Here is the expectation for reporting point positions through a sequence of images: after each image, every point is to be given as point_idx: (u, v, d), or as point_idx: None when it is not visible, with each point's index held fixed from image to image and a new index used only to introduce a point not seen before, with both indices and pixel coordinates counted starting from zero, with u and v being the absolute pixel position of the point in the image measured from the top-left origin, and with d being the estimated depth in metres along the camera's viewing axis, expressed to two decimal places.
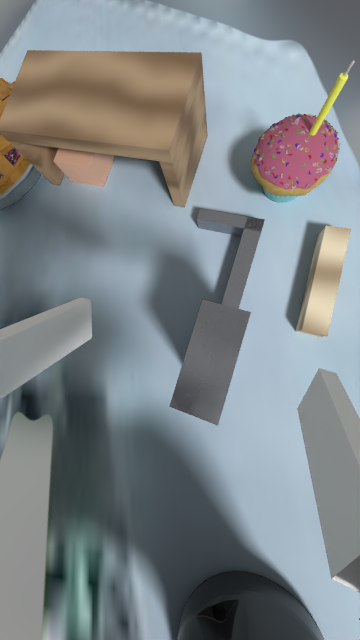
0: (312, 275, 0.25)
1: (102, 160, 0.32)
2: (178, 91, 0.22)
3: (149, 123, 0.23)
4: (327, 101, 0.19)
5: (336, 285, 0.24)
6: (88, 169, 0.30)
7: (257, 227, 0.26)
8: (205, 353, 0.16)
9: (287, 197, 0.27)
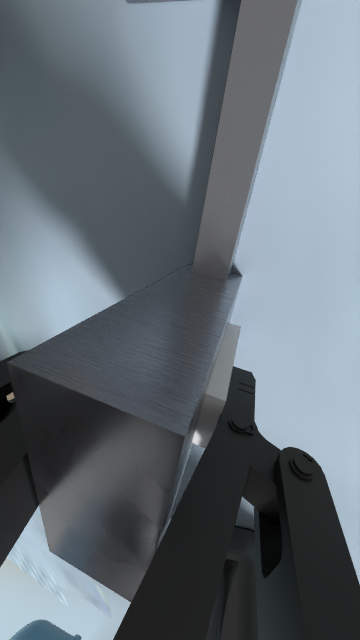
0: None
1: None
2: None
3: None
4: None
5: None
6: None
7: None
8: (77, 501, 0.05)
9: None
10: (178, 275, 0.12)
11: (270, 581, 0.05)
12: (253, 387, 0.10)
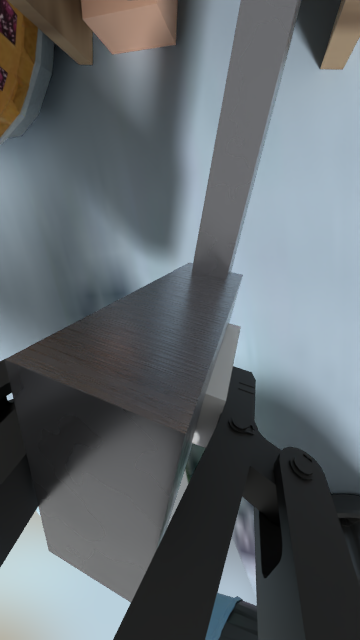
0: None
1: None
2: None
3: None
4: None
5: None
6: (153, 10, 0.15)
7: None
8: (75, 501, 0.05)
9: None
10: (178, 274, 0.11)
11: (270, 581, 0.05)
12: (253, 387, 0.10)
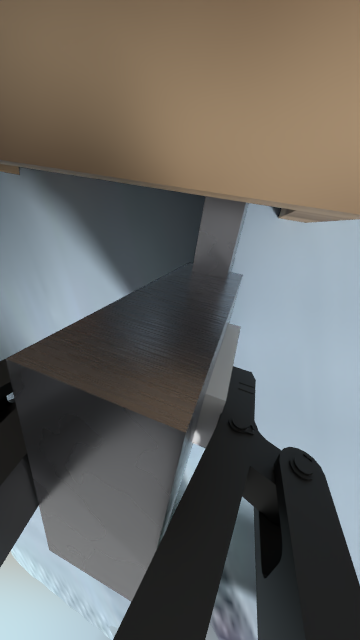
0: None
1: None
2: None
3: (281, 43, 0.04)
4: None
5: None
6: None
7: None
8: (76, 500, 0.05)
9: None
10: (178, 273, 0.11)
11: (271, 582, 0.05)
12: (253, 387, 0.10)
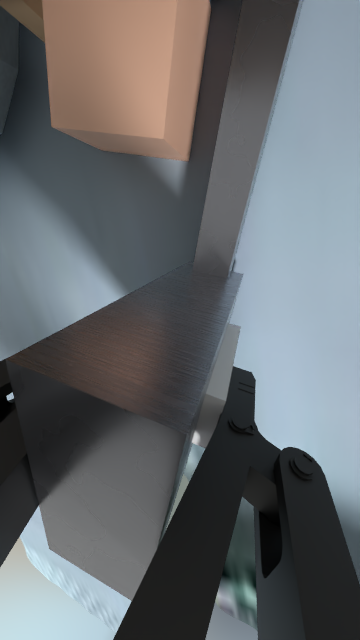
0: None
1: (185, 81, 0.10)
2: None
3: None
4: None
5: None
6: (158, 141, 0.10)
7: None
8: (76, 500, 0.05)
9: None
10: (179, 273, 0.11)
11: (271, 582, 0.05)
12: (253, 387, 0.10)
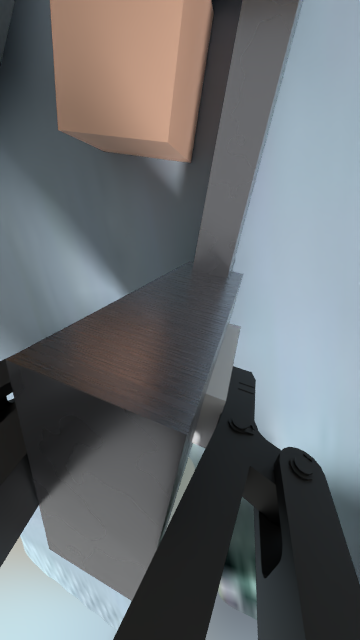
0: None
1: (188, 86, 0.10)
2: None
3: None
4: None
5: None
6: (162, 144, 0.10)
7: None
8: (77, 500, 0.05)
9: None
10: (179, 273, 0.11)
11: (270, 581, 0.05)
12: (253, 387, 0.10)
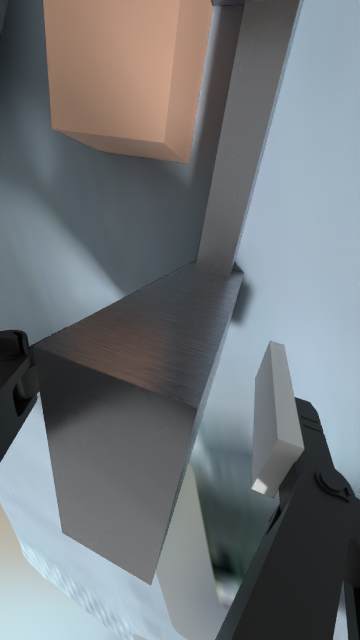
0: None
1: (186, 84, 0.10)
2: None
3: None
4: None
5: None
6: (159, 144, 0.10)
7: None
8: (92, 480, 0.06)
9: None
10: (182, 272, 0.12)
11: None
12: (318, 422, 0.08)
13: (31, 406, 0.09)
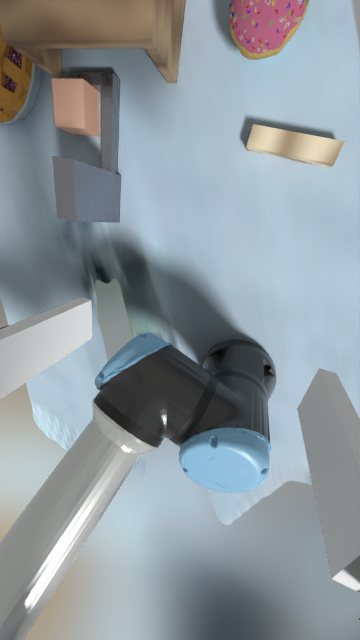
0: (285, 155, 0.31)
1: (91, 112, 0.37)
2: None
3: (129, 6, 0.25)
4: None
5: (300, 134, 0.30)
6: (84, 129, 0.37)
7: (109, 82, 0.34)
8: (62, 187, 0.33)
9: None
10: None
11: None
12: None
13: None
